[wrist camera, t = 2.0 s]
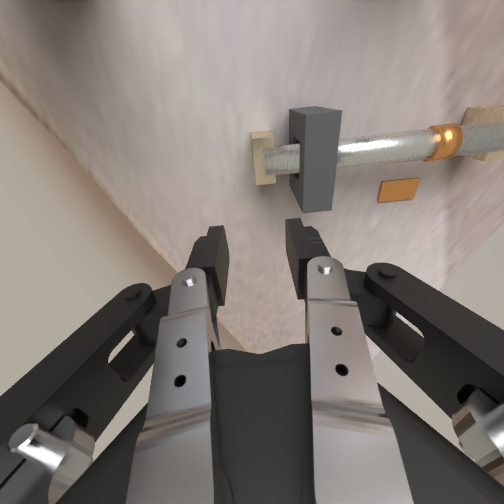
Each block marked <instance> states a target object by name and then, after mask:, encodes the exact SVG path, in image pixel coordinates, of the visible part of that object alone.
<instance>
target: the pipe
mask: <svg viewBox="0 0 504 504" xmlns="http://www.w3.org/2000/svg"><path fill="white" fill-rule="evenodd" d="M251 138H252V149H253V160H254V170H255V181H256V185H264V184H273V183H276V175H283V174H292V173H299V160H300V144H291V145H282V146H275V142H274V135H273V134H272V132H271V131H270V130H269V131H260V132H252V133H251ZM460 155H463V156H466V157H470V158H474V159H477V160H481V161H492V160H501V159H504V106H498V105H486V106H477V107H468V109H467V111H466V114H465V117H464V119H463V122H462V125H461V126H459V125H458V124H446V125H437V126H431V127H429V128H428V129H425V130H416V131H407V132H398V133H389V134H380V135H372V136H363V137H354V138H345V139H339V144H338V153H337V162H336V169H339V168H348V167H357V166H367V165H376V164H385V163H395V162H404V161H414V160H423V161H436V160H445V159H450V158H451V157H453V156H460ZM419 179H420V178H411V179H402V180H392V181H382V183H381V188H380V192H379V197H378V201H377V202H388V201H398V200H408V199H413V198H414V195H415V192H416V189H417V185H418V182H419Z"/></svg>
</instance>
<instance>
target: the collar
mask: <svg viewBox="0 0 504 504" xmlns="http://www.w3.org/2000/svg"><path fill="white" fill-rule="evenodd" d="M341 115H342V111H341V110H335V109H329V108H323V107H317V106H314V107H305V108H297V109H289V120H290V145H291V144H300V160H299V173H292V174H290V187H291V189H292V191H293V193H294V195H295V197H296V199H297V202H298V204H299V206H300V208H301V210H302V212H303V213H308V212H318V211H329V210H332V200H333V191H334V181H335V172H336V162H337V153H338V144H339V134H340V125H341Z"/></svg>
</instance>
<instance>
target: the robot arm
mask: <svg viewBox="0 0 504 504" xmlns="http://www.w3.org/2000/svg"><path fill="white" fill-rule="evenodd" d="M285 230H286V253H287V258H288V262H289V266H290V270H291V274H292V278H293V282H294V286H295V290H296V294H297V298H298V300H300V299H304V301H305V344H291V345H288V346H285V347H282V348H279V349H276V350H273V351H270V352H267V353H264V354H255V353H249V352H243V351H237V350H232V349H225V350H222V349H221V341H220V333H219V325H218V317H217V309H218V306H224V305H225V296H226V287H227V278H228V269H229V249H228V244H227V239H226V234H225V229H224V226H223V225H222V226H212V227H209V229H208V233H207V236H203V237H200V238H199V239H198V240H197V241H196V242H195V243H194V246H193V250H192V252H191V255H190V257H189V260H188V263H187V266H186V268H185V270H183V271H181V272H179V273H178V274H176V275H175V276H174V278H173V280H172V284H171V285H169V286H166V287H163V288H160V289H157V290H154V291H152V289H151V287H150V285H148V284H145V283H139V284H134V285H131V286H129V287H127V288H125V289H124V290H122V291H121V292H120V293H118V294H117V295H116V296H115V297H114V298H113V299H112V300H110V301H109V302H108V303H107V304H106V305H105V306H103V308H101V309H100V310H99V311H98V312H97V313H95V314H94V315H93V316H92V317H91V318H90V319H89V320H87V321H86V322H85V323H84V324H83V325H82V326H81V327H80V328H78V329H77V330H76V331H75V332H74V333H73V334H71V335H70V336H69V337H68V338H67V339H66V340H65V341H63V342H62V343H61V344H60V345H59V346H58V347H57V348H55V349H54V350H53V351H52V352H51V353H50V354H48V355H47V356H46V357H45V358H44V359H43V360H42V361H41V362H39V363H38V364H37V365H36V366H35V367H34V368H32V369H31V370H30V371H29V372H28V373H27V374H26V375H24V376H23V377H22V378H21V379H20V380H19V381H17V382H16V383H15V384H14V385H13V386H12V387H11V388H9V389H8V390H7V391H6V392H5V393H4V394H3V395H1V396H0V504H504V330H502V329H500V328H499V327H497V326H496V325H494V324H492V323H491V322H489V321H487V320H486V319H484V318H482V317H481V316H479V315H477V314H476V313H474V312H472V311H471V310H469V309H468V308H466V307H464V306H463V305H461V304H459V303H458V302H456V301H454V300H453V299H451V298H449V297H448V296H446V295H444V294H443V293H441V292H440V291H438V290H436V289H435V288H433V287H431V286H430V285H428V284H426V283H425V282H423V281H421V280H420V279H418V278H416V277H415V276H413V275H411V274H410V273H408V272H406V271H405V270H403V269H402V268H400V267H398V266H395V265H393V264H389V263H374V264H371V265H370V266H368V268H367V270H366V272H361V271H353V270H348V269H345V268H343V265H342V263H341V262H340V261H338V260H336V259H334V258H331V256H330V254H329V252H328V250H327V248H326V246H325V244H324V243H323V241H322V239H321V238H320V235H319V233H318V231H317V230H316V229H314V228H313V227H311V226H308V227H304V226H303V224H302V221H301V219H300V218H294V219H286V221H285ZM396 312H398V313H399V314H400V315H402V316H403V317H404V318H405V319H407V320H408V321H409V322H411V323H412V324H413V325H414V326H416V327H417V328H418V329H419V330H420V331H421V332H422V334H423V336H424V338H423V337H422V336H421V335H419V334H418V333H417V332H416V331H414V330H413V329H412V328H411V327H409V326H408V325H407V324H406V323H404V322H403V321H402V320H401V319H399V318H398V317H397V316H396ZM131 330H132V332H133V334H134V336H133V337H132V338H131V340H130V341H129V342H128V343H127V344H126V345H125V346H124V347H123V348H122V350H121V351H120V352H119V353H118V354H117V355H116V356H115V357H114V358H113V360H112V361H111V362H110V363H109V364H108V358H109V355H110V353H111V352H112V350H113V349H114V348H115V347H116V346H117V345H118V344H119V343H120V342H121V340H122V339H123V338H124V337H125V336H126V335H127V334H128V333H129V332H130V331H131ZM365 334H366V335H367V336H368V337H369V338H370V339H371V340H372V341H373V342H374V343H375V344H376V345H377V346H378V347H379V348H380V349H381V350H382V351H383V352H384V353H385V354H386V355H387V356H388V357H389V358H390V359H391V360H392V361H393V362H394V363H395V364H396V365H397V366H398V367H399V368H400V369H401V370H402V371H404V373H405V374H406V375H408V377H409V378H410V379H411V380H413V381H414V382H415V383H416V384H417V385H418V386H419V387H420V388H421V389H422V390H423V391H424V392H425V393H426V394H427V395H428V396H429V397H430V398H431V399H432V400H433V401H434V402H435V403H436V404H437V405H438V406H439V407H440V408H441V409H442V410H443V411H444V412H445V413H446V414H447V415H448V416H449V417H450V418H451V419H452V424H453V428H454V431H455V433H456V435H457V437H458V439H459V444H460V446H461V448H462V450H463V451H464V452H465V453H466V454H467V455H468V456H469V457H471V458H472V459H474V460H475V461H476V463H477V464H476V463H475V462H474V461H473V460H471V459H470V458H469V457H468V456H466V455H465V454H464V453H463V452H462V451H460V450H459V449H458V448H457V447H456V446H454V445H453V444H452V443H451V442H449V441H448V440H447V439H446V438H445V437H443V436H442V435H441V434H440V433H438V432H437V431H436V430H435V429H434V428H432V427H431V426H430V425H429V424H427V423H426V422H425V421H424V420H422V419H421V418H420V417H419V416H418V415H416V414H415V413H414V412H413V411H412V410H410V409H409V408H408V407H407V406H405V405H404V404H403V403H402V402H401V401H399V400H398V399H397V398H396V397H395V396H393V395H392V394H391V393H390V392H388V391H387V390H386V389H385V388H384V387H382V386H381V385H380V384H379V383H377V381H376V377H375V373H374V369H373V365H372V361H371V357H370V353H369V349H368V345H367V341H366V337H365ZM153 363H154V366H153V373H152V379H151V386H150V393H149V400H148V403H147V404H146V405H145V406H144V407H143V408H142V410H141V411H140V412H139V413H138V414H137V415H136V416H135V417H134V418H133V419H132V420H131V421H130V423H129V424H128V425H127V426H126V427H125V428H124V429H123V430H122V431H121V432H120V433H119V434H118V436H117V437H116V438H115V439H114V440H113V441H112V442H111V443H110V444H109V445H108V446H107V448H106V449H105V450H104V451H103V452H102V453H101V454H100V455H99V456H98V458H97V459H96V460H95V461H94V462H93V458H92V455H93V452H94V446H95V442H96V441H97V439H98V438H99V436H100V435H101V434H102V432H103V431H104V430H105V428H106V427H107V425H108V424H109V423H110V422H111V420H112V419H113V418H114V416H115V415H116V413H117V412H118V411H119V409H120V408H121V407H122V405H123V404H124V402H125V401H126V400H127V398H128V397H129V396H130V394H131V393H132V392H133V390H134V389H135V388H136V386H137V385H138V384H139V382H140V381H141V380H142V378H143V377H144V376H145V374H146V373H147V371H148V370H149V369H150V367H151V366H152V365H153Z"/></svg>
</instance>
